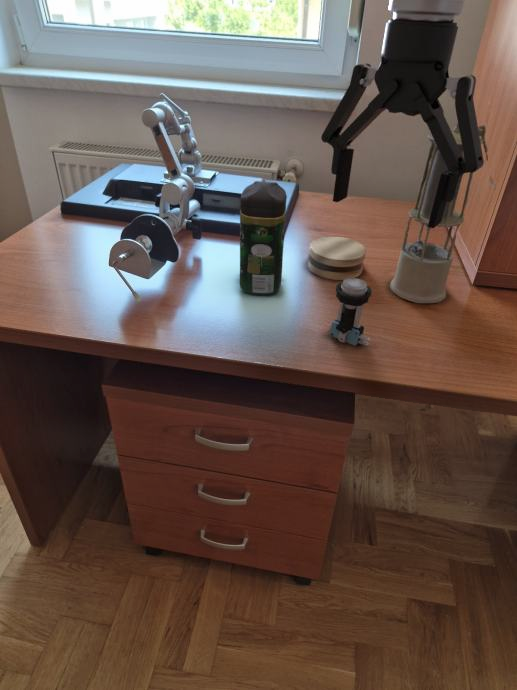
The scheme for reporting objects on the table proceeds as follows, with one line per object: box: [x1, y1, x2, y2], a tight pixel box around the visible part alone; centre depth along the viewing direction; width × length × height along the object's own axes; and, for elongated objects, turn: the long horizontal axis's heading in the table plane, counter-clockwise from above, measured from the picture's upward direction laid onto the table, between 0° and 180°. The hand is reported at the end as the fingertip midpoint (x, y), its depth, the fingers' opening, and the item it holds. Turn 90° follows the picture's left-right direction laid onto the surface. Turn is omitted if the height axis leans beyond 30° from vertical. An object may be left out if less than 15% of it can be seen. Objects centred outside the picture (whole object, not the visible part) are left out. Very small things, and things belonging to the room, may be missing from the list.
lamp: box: [389, 120, 496, 304], centre depth 82 cm, size 10×13×30 cm
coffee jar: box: [239, 180, 288, 296], centre depth 85 cm, size 10×8×19 cm
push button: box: [329, 277, 373, 347], centre depth 73 cm, size 7×5×10 cm
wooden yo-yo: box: [307, 236, 367, 281], centre depth 96 cm, size 12×12×4 cm
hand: (384, 211), depth 63 cm, fingers open, 13 cm apart
